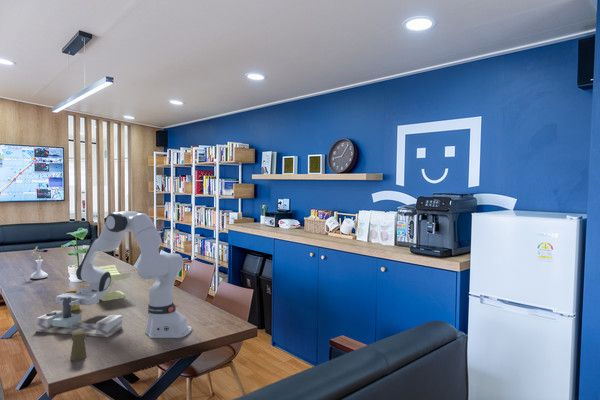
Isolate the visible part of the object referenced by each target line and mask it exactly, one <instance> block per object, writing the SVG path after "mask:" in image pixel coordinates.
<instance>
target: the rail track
mask: <svg viewBox="0 0 600 400" xmlns="http://www.w3.org/2000/svg"><path fill="white" fill-rule="evenodd" d="M62 315H63V310H53V311H50V312H47V313H45V314H43V315H41V316H38V317H36V332H40V333H52V334H53V333H55V334H63V335H65V334H66V335H72V334H73V333H75V332H78V331H83V332H85V334H86V336H90V337H104V338H108V337H110V336H112V335H113V334H115V333H117V332H118V331H120V330H121V329H122V328H123V315H122V314H110V315H108V316H105V317H104V318H102V319H100V320H98V321H97V322H96V323H91V322H90V323H89V322H79V321H78V322H77V323H74V324H72V328H65V327H56V326H52V320H53V319H55V318H58V317H60V316H62Z"/></svg>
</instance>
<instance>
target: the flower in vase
mask: <svg viewBox="0 0 600 400" xmlns="http://www.w3.org/2000/svg"><path fill="white" fill-rule="evenodd" d="M37 250H38V246H36V247H35V248H34V249H33V252H31V254H30V256H34V254H35V253H36V254H37V257H36V259H35V262H36V265H37V266H36V267H37V269H36V271H34V272H33V273H32V274H30V275H29V276H30V278H31V279H33V280H34V279H35V280H36V279H37V280H39V279H44V278H47V277H48V276H49V274H48V273H47V272H45V271H44V270H42V263H43V261H44V259H41V258H42V256H41V254H39V253H38V251H37Z"/></svg>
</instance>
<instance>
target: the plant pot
mask: <svg viewBox="0 0 600 400" xmlns="http://www.w3.org/2000/svg"><path fill="white" fill-rule="evenodd" d="M78 290H79V289H78ZM78 290H68V291H64V292H63V293H62V294H65V293H75V294H76V292H77V291H78ZM80 306H81V305H73V306H71V312H72V311H77V310H79V309H80Z"/></svg>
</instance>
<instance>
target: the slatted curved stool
mask: <svg viewBox="0 0 600 400" xmlns="http://www.w3.org/2000/svg"><path fill="white" fill-rule="evenodd" d="M98 267H99V268H101V269H103V270H106V271H108V272H109V273H110V275H111V282H110V285H109V288H112V285H113V283H114V282H116V281H121V280H125V279H129V278H131V272H125V273H120V272H119V270H118V269H117V266H116V264H110V265H102V266H98ZM123 298H126V294H125V293H124V292H122V291H120V290H115V291H114V290H112V291H108V292H107V293H106V294H105V295H104V296H103V297H101V298H99V301H100V300H101V301H102V302H106V301H112V300H119V299H123Z"/></svg>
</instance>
